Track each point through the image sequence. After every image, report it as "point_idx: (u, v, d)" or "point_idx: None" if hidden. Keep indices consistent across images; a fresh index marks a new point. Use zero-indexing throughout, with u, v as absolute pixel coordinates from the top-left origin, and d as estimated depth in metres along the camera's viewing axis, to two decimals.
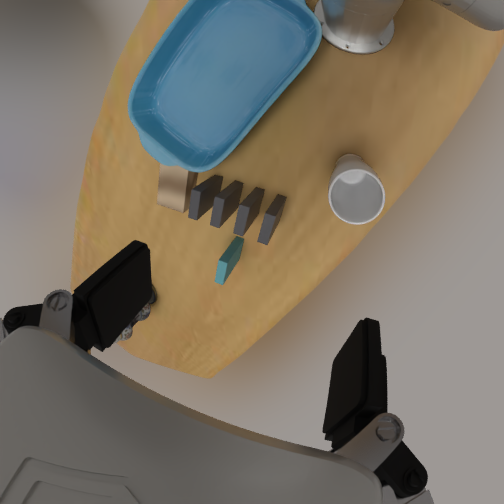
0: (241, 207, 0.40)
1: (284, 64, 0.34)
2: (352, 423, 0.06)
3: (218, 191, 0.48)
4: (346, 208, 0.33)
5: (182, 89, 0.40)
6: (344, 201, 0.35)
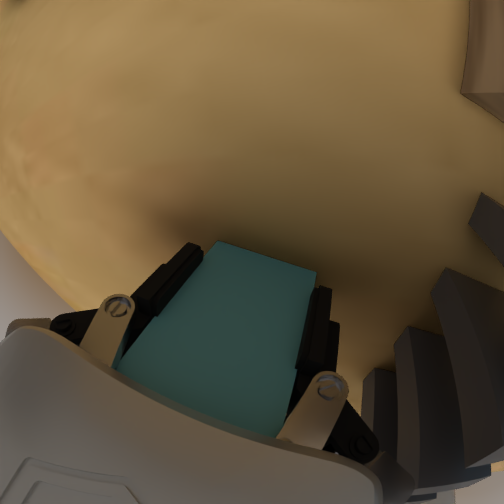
0: (480, 479, 0.05)
1: None
2: (297, 380, 0.08)
3: None
4: None
5: None
6: None
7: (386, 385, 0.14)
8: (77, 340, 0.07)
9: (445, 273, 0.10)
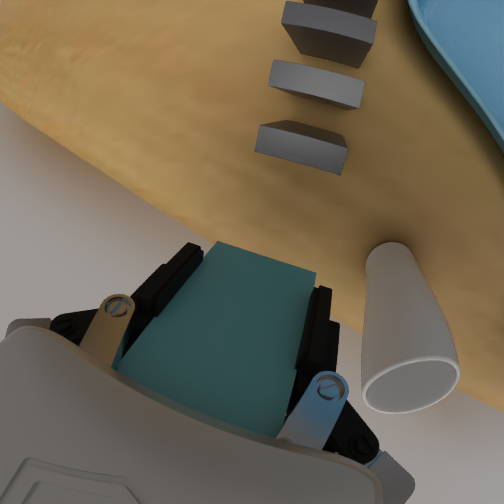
0: (357, 86, 0.11)
1: None
2: (296, 381, 0.08)
3: None
4: None
5: None
6: None
7: (294, 122, 0.20)
8: (77, 340, 0.07)
9: None
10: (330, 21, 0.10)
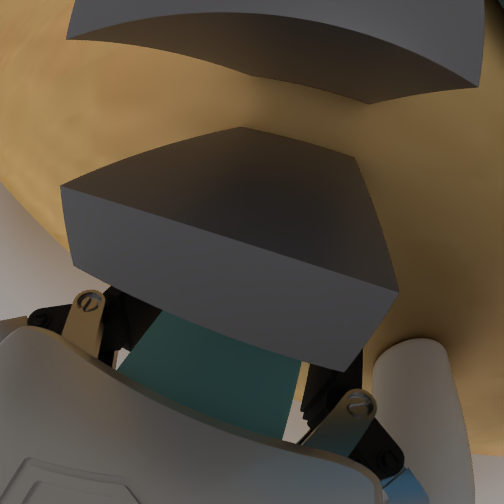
0: None
1: None
2: (324, 399, 0.07)
3: None
4: None
5: None
6: None
7: (251, 133, 0.10)
8: None
9: None
10: None
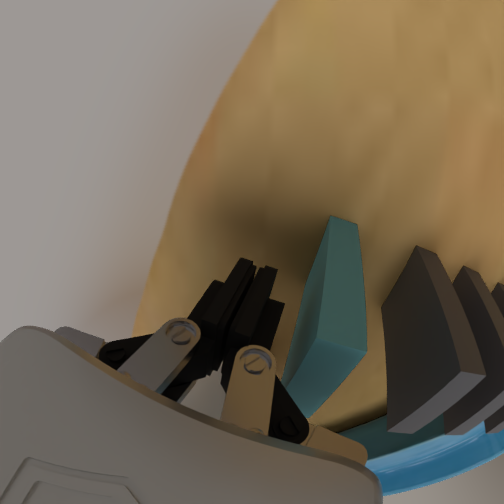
0: (463, 432, 0.08)
1: None
2: (228, 354, 0.08)
3: None
4: None
5: None
6: None
7: None
8: None
9: None
10: None
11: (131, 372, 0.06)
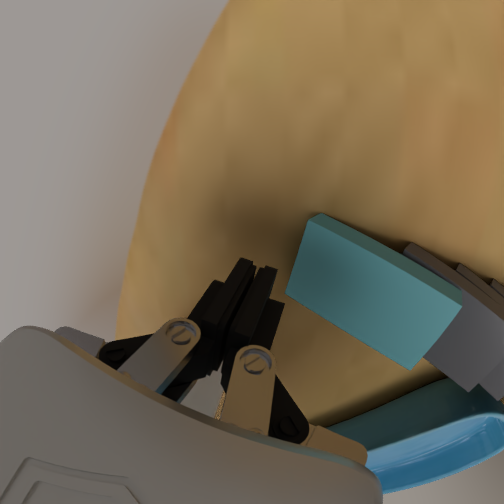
0: None
1: None
2: (228, 354, 0.08)
3: None
4: None
5: (448, 428, 0.21)
6: None
7: None
8: None
9: (496, 281, 0.12)
10: None
11: (131, 372, 0.06)
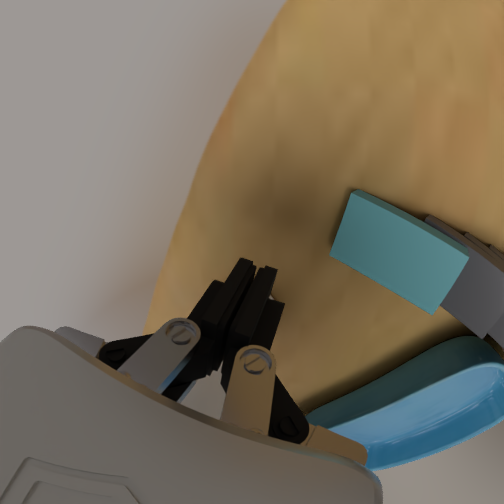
0: None
1: None
2: (228, 354, 0.08)
3: None
4: None
5: (459, 394, 0.24)
6: None
7: None
8: None
9: (493, 246, 0.15)
10: None
11: (131, 372, 0.06)
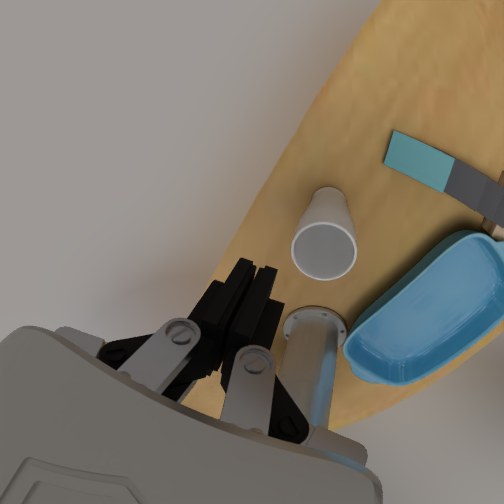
0: (493, 218, 0.25)
1: None
2: (228, 354, 0.08)
3: None
4: None
5: (469, 294, 0.36)
6: None
7: None
8: None
9: None
10: None
11: (131, 372, 0.06)
